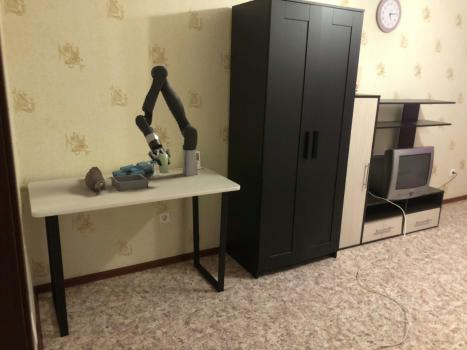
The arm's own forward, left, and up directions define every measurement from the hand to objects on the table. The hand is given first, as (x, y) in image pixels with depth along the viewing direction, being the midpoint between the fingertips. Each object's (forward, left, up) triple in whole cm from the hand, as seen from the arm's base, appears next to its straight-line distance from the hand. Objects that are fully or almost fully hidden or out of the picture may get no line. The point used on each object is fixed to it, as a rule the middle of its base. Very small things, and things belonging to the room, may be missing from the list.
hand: (165, 164), depth 222 cm
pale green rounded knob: (0, -2, -5) cm, 5 cm away
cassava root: (+38, -19, -13) cm, 44 cm away
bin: (+19, -9, -13) cm, 25 cm away
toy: (+8, -30, -14) cm, 34 cm away
